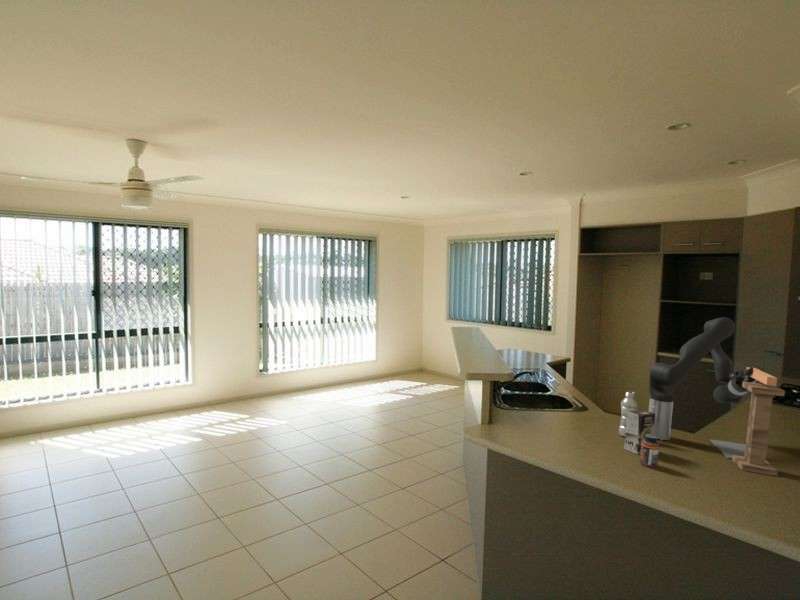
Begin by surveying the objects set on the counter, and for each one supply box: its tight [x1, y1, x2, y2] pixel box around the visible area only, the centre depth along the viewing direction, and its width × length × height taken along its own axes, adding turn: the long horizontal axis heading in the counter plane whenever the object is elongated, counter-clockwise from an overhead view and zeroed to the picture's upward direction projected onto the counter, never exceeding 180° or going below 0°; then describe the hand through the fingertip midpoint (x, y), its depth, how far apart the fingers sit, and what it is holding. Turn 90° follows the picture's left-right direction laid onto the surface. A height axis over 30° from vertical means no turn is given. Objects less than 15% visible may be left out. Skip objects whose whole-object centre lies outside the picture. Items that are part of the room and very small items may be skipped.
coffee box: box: [623, 409, 655, 455], centre depth 189 cm, size 9×6×16 cm
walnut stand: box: [731, 382, 786, 477], centre depth 178 cm, size 11×11×32 cm
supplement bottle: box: [639, 434, 660, 469], centre depth 175 cm, size 6×6×11 cm
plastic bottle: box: [618, 390, 638, 438], centre depth 206 cm, size 6×7×20 cm
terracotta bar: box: [746, 366, 778, 387], centre depth 180 cm, size 20×3×3 cm, turn 161°
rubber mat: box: [710, 439, 746, 460], centre depth 195 cm, size 22×14×1 cm, turn 161°
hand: (757, 370), depth 183 cm, fingers closed on terracotta bar, 3 cm apart
